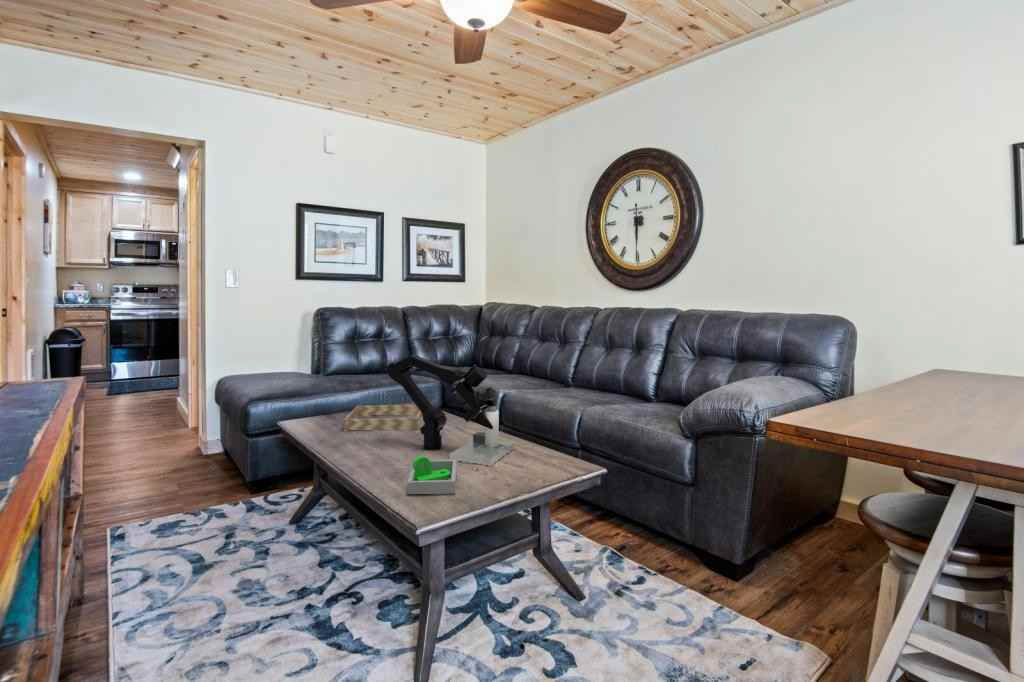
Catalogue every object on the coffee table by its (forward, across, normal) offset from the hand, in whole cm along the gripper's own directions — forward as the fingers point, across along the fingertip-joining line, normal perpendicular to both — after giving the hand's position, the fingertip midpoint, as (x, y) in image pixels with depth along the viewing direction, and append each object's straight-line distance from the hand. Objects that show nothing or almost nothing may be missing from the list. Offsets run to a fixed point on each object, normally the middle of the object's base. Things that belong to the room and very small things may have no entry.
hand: (495, 426), depth 198 cm
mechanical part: (+2, -30, +15) cm, 33 cm away
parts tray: (+3, -32, +13) cm, 35 cm away
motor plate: (+4, 0, +11) cm, 12 cm away
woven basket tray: (-39, +26, +56) cm, 73 cm away
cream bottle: (+4, 0, +6) cm, 7 cm away
